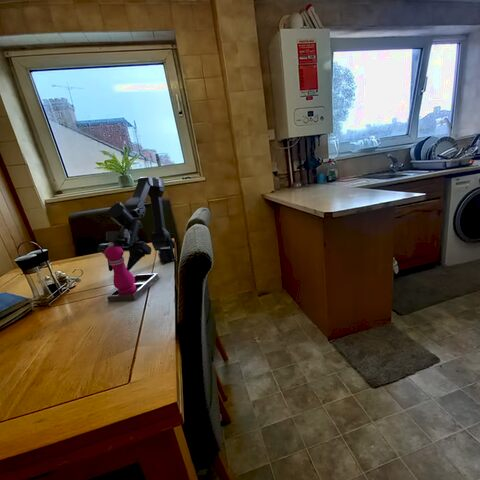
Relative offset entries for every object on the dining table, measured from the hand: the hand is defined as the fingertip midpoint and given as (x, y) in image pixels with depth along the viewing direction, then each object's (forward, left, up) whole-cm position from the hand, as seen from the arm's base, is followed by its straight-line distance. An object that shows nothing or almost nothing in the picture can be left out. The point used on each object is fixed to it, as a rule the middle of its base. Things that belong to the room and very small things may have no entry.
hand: (118, 270), depth 99 cm
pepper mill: (-1, -2, -10) cm, 10 cm away
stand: (-4, -4, -10) cm, 12 cm away
